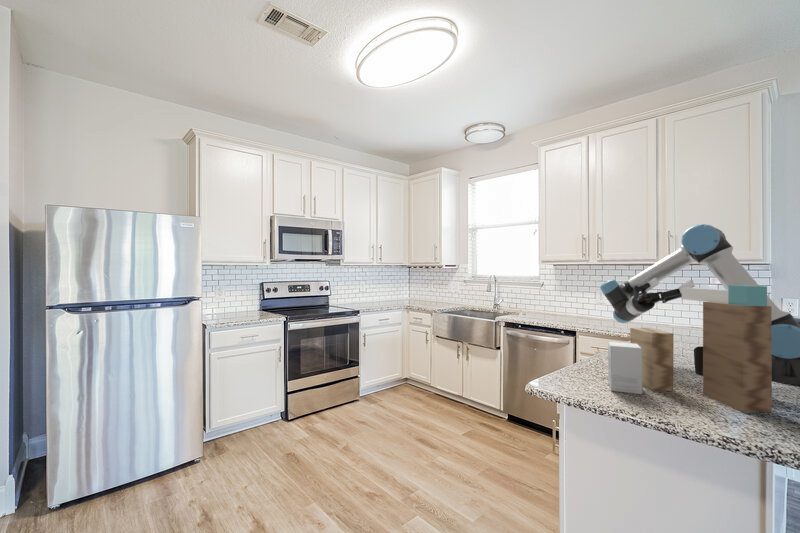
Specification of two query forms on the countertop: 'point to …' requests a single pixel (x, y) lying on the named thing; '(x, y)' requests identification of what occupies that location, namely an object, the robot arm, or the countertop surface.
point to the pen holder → (698, 360)
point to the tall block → (738, 356)
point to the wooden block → (655, 357)
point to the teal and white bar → (729, 295)
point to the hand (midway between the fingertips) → (674, 281)
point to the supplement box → (625, 367)
